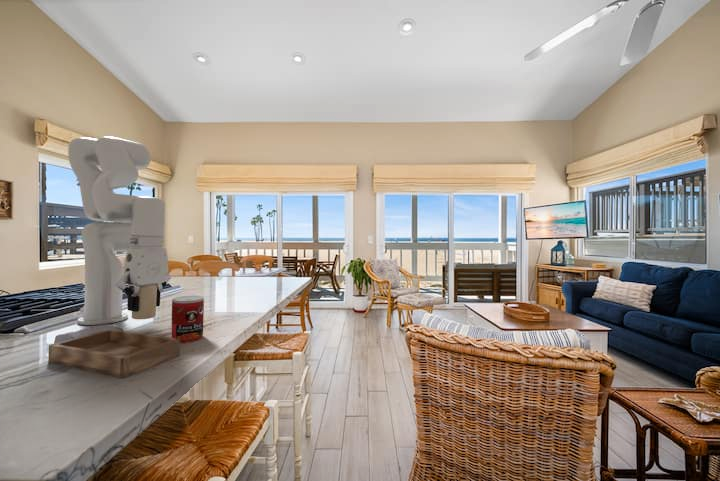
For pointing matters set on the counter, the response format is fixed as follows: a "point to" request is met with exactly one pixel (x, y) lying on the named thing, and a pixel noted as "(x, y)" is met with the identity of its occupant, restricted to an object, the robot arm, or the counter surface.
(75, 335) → the stone block
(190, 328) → the canned food
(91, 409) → the counter surface
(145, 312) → the candle
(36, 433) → the counter surface
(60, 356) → the tray
